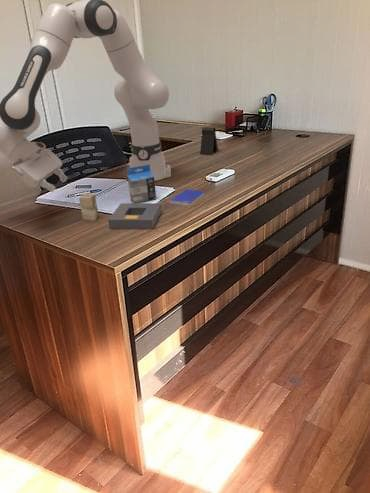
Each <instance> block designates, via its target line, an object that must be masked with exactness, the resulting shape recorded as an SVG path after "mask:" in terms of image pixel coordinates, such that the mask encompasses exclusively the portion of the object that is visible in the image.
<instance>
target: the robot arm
mask: <svg viewBox="0 0 370 493" xmlns="http://www.w3.org/2000/svg"><path fill="white" fill-rule="evenodd" d="M132 32H133V31H131V29H130V26H129V24H128V23H127V21H126V19H125V17H124V16H123V14H122V13H121V12H120V11H118V10H116V9H113V7H112V6H111V5H110V4H109V3H108V2H107V1H105V0H79V1H76V2H70V3H68V4H66V5H64V4H61V3H57V2H55V3H51V4H49V5H48V6H47V8H46V9H45V10H44V12H43V15H41V17H40V19H39V21H38V23H37V26H36V28H35V31H34V33H33V37H32V38H31V43H30V47H29V49H28V50H29V51H28V53H27V58H26V60H25V62H24V64H23V66H22V68H21V71H20V72H19V75H18V78H17V80H16V82H15V84H14V86H13V88H12V89H11V90H10V91H9V92H8V93H7V94H6V95H5V96H4V97H3V98H2V100H1V101H0V153H1V154H3V155H4V156H5V157H6V159H7V160H8V161H10V163H12V164H11V168H12V170H13V171H14V172H15V174H16V176H17V177H18V178H19V179H20V180H21V181H22V182H23V183H24V184H25V185H27V187H29V188H32V189H34V188H36V187H37V186H40V187H41V188H43V189H45V190H48V191H49V192H50V193H53V192H54V191H55V190H56V189H57V186H56V185H54V184H53V183H50V182H47V180H46V179H48V178H49V177H51V176H52V175H53V174H55V175H56V176H58V177H59V180H60V181H61V182H62V183H65V182H67V180H68V176H67V175H66V174H65V173H64V172H63V169H61V167H62V166H63V162H62V160H61V158H59V157H58V156H57V155H56V154H55V153H54V152H52V150H50V149H49V148H46V147H47V146H46V144H44V143H43V142H37V141H30V140H29V139H28V137H29V136H31V134H33V133H34V132H35V131H37V130H38V128H39V127H40V126H41V125H40V124H41V115H40V113H39V111H38V110H37V108H36V97H37V95H38V93H39V91H40V88H41V86H42V83H43V81H44V79H45V77H46V75H47V73H49V72H50V71H55V70H58V69H59V68H60V67H62V65H63V63H64V61H65V60H66V58H67V56H68V53H69V52H70V48H71V46H72V43H73V40H74V38H75V39H92V38H96V37H98V38H99V39H100V41H101V43H102V46H103V47H104V50H105V52H106V54H107V56H108V60H109V61H110V63H111V65H112V67H113V69H114V71H115V72H116V73H117V74H118V75H119V76H120V77H121V78H123V79H120V80H118V81H117V82H116V83H115V85H114V89H113V90H114V92H113V94H114V98H115V100H116V101H117V102H118V104H119V105H120V106H121V107H122V109H123V111H124V114H125V117H126V118H127V122H128V124H129V130H130V138H131V146H130V147H131V153H132V155H131V156H130V157H129V159H128V160H129V168H132V167H137V166H143V165H149V164H150V171H151V173H152V174H153V176H154V180H155V182H156V181H160V180H163V179H166V178H171V177H172V168H171V164H166V156H165V154H164V153H163V151H162V144H161V140H160V134H159V124H158V121H157V120H156V119H155V117H153V116H152V114H151V112H150V110H156V109H161V108H163V107H165V106H166V105H167V103H168V102H169V98H170V90H169V88H168V85H167V84H166V83H165V82H164V81H163V80H161V79H159V78H158V77H157V76H156V74H155V73H154V72H153V71H152V70H151V68H150V66H148V64H147V63H146V62H145V60H144V58H143V56H142V53H141V51H140V49H139V47H138V44H137V42H136V40H135V37H134V34H133V33H132ZM142 170H143V169H138V170H135V172H136V171H142Z"/></svg>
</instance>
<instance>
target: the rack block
mask: <svg viewBox="0 0 370 493" xmlns="http://www.w3.org/2000/svg"><path fill="white" fill-rule="evenodd" d="M161 214H162V203H159V202H158V203H155V202H154V203H153V202H152V203H151V202H149V203H148V202H147V203H146V202H144V203H143V202H139V203H133V202H128V203H127V202H126V203H125V202H121V203H119V205H118V206H117V208H116V209H115V210H114V211H113V213H112V214H111V216H110V217H109V218H108V220H107V221H108V226H109V229H113V230H114V229H119V230H120V229H121V230H122V229H123V230H124V229H125V230H126V229H130V230H131V229H132V230H140V229H141V230H153V229H154V228H155V226H156V224H157V222H158V220H159V218H160V216H161Z"/></svg>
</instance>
